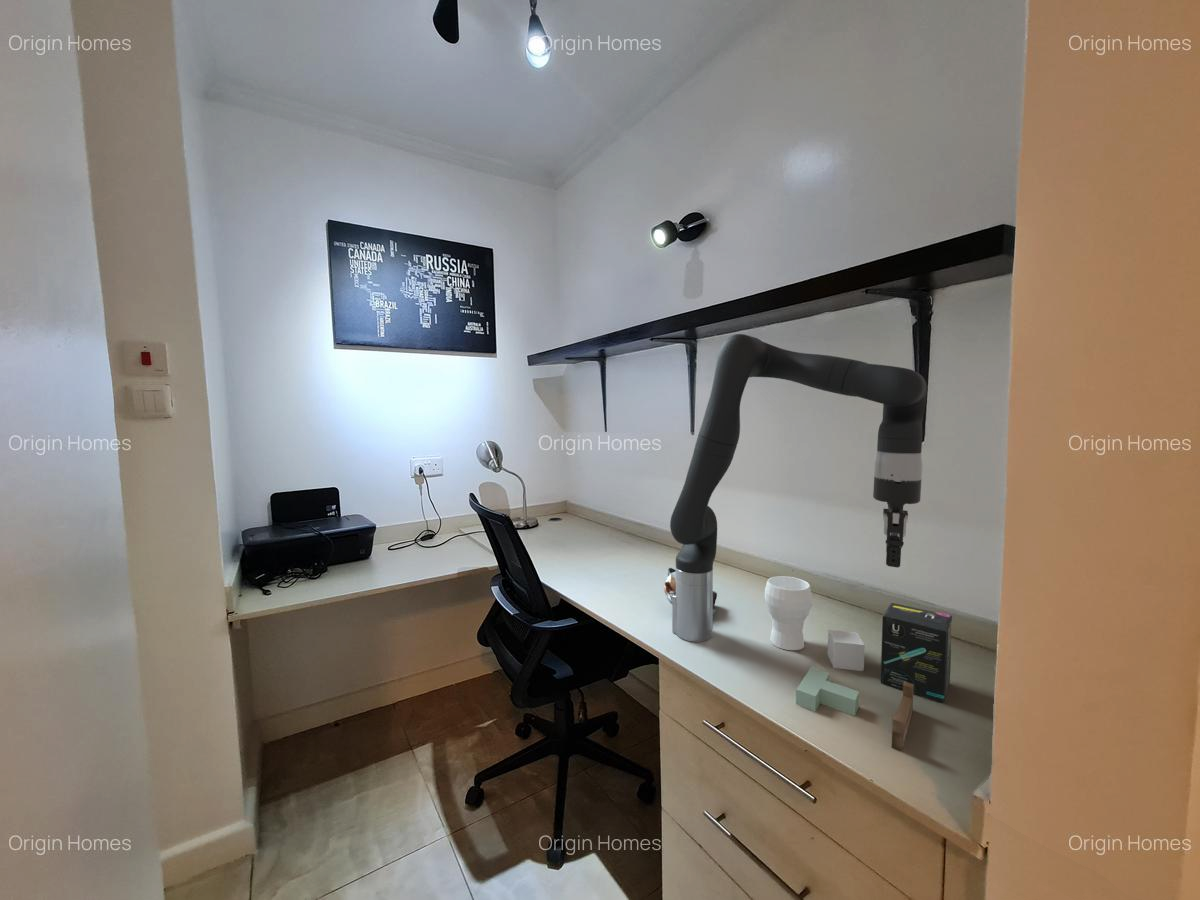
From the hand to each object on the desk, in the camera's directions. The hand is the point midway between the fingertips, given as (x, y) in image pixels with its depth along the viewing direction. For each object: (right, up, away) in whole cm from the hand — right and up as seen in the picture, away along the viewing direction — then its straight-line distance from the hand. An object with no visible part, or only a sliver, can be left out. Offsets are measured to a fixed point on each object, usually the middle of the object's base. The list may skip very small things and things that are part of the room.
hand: (892, 559), depth 88 cm
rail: (-2, -28, -6) cm, 29 cm away
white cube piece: (-1, -27, +15) cm, 31 cm away
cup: (-10, -26, +24) cm, 37 cm away
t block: (-11, -28, +1) cm, 30 cm away
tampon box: (+9, -27, +7) cm, 30 cm away
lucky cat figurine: (-30, -25, +42) cm, 58 cm away
